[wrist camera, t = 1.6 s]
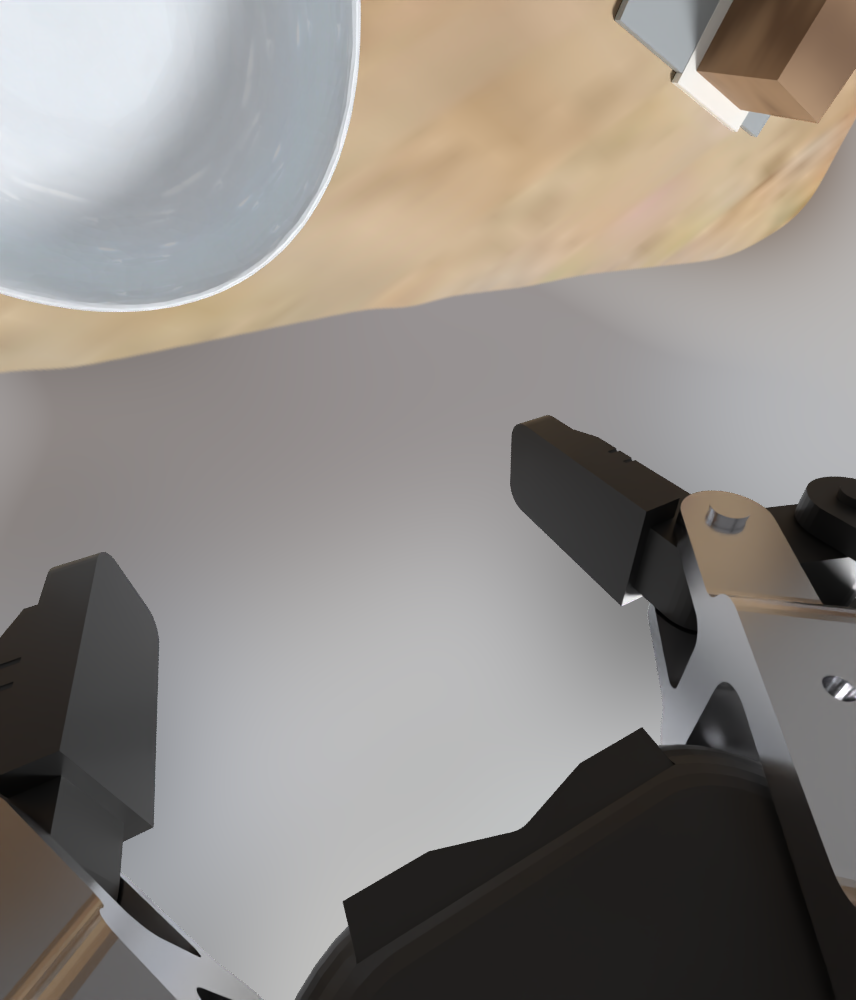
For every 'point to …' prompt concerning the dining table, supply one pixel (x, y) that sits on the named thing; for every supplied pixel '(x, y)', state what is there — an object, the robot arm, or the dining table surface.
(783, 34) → the walnut cube
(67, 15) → the serving bowl
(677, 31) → the light grey flat sheet
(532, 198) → the dining table surface
